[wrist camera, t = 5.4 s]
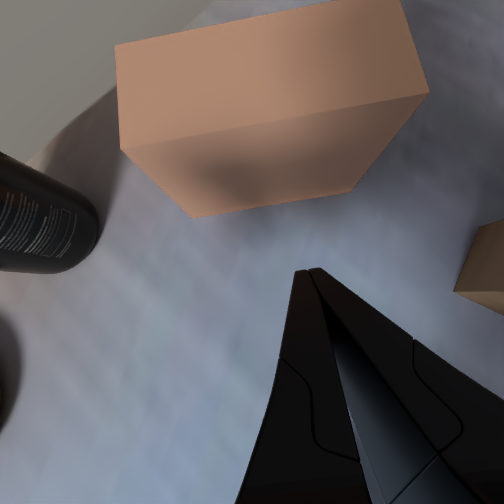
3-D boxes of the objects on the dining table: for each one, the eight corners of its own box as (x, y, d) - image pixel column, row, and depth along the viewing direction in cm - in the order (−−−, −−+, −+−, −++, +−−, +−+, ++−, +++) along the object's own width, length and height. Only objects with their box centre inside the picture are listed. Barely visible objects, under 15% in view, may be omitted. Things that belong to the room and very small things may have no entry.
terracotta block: (350, 192, 18) (430, 92, 9) (192, 218, 18) (120, 149, 9) (335, 132, 19) (396, -12, 10) (186, 159, 19) (114, 45, 10)
